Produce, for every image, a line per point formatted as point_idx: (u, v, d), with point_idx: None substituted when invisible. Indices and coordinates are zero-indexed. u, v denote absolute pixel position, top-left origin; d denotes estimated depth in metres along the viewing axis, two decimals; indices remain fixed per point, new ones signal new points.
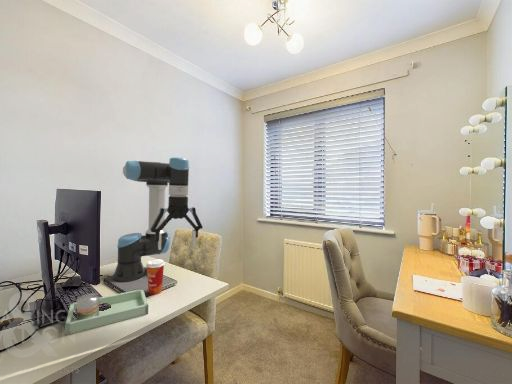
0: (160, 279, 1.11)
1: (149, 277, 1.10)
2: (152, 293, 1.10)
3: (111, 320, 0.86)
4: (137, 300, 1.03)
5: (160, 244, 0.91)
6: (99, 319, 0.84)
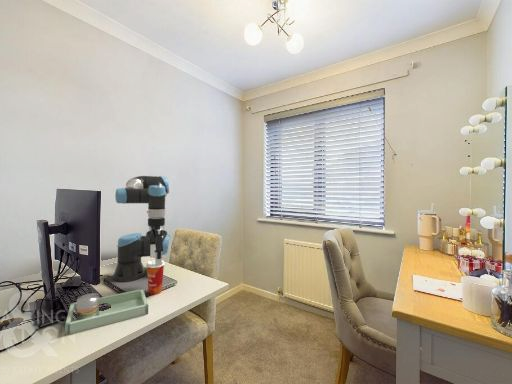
0: (160, 279, 1.11)
1: (149, 277, 1.10)
2: (152, 293, 1.10)
3: (111, 320, 0.86)
4: (137, 300, 1.03)
5: (150, 253, 1.17)
6: (99, 319, 0.84)
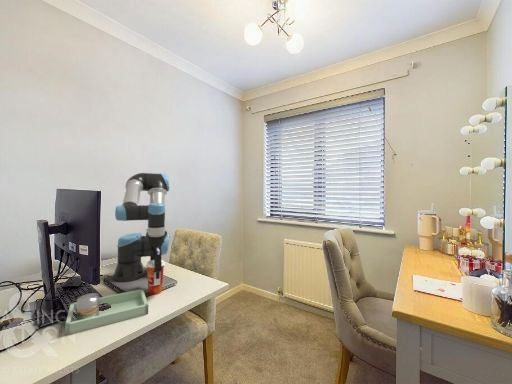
0: (160, 279, 1.11)
1: (149, 277, 1.10)
2: (152, 293, 1.10)
3: (111, 320, 0.86)
4: (137, 300, 1.03)
5: None
6: (99, 319, 0.84)
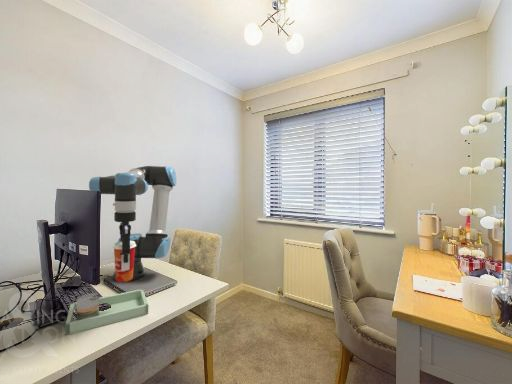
0: (130, 264, 0.93)
1: (116, 261, 0.91)
2: (120, 280, 0.92)
3: (111, 320, 0.86)
4: (137, 300, 1.03)
5: None
6: (99, 319, 0.84)
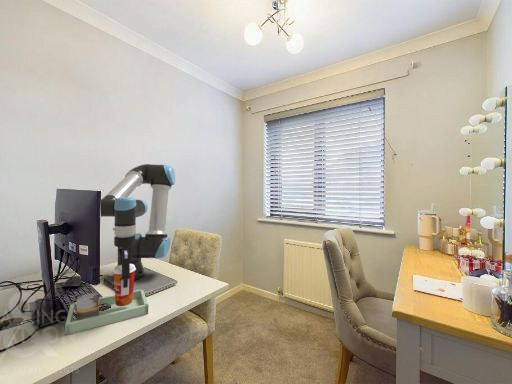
0: (129, 288, 0.93)
1: (116, 285, 0.92)
2: (119, 304, 0.92)
3: (111, 320, 0.86)
4: (137, 300, 1.03)
5: None
6: (99, 319, 0.84)
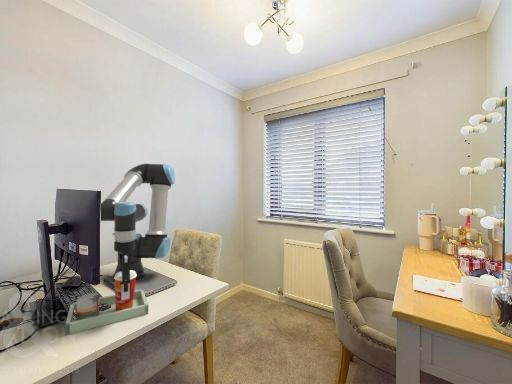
0: (130, 294, 0.94)
1: (116, 292, 0.92)
2: None
3: (111, 320, 0.86)
4: (137, 300, 1.03)
5: None
6: (99, 319, 0.84)
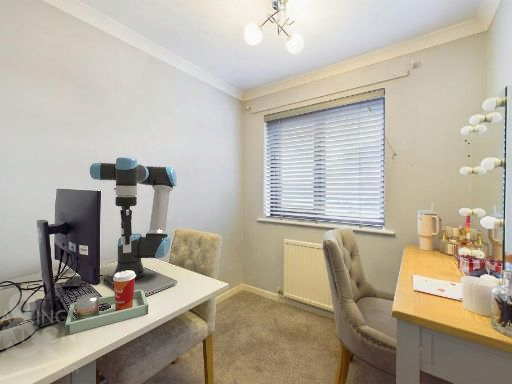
0: (130, 295, 0.94)
1: (116, 293, 0.92)
2: None
3: (111, 320, 0.86)
4: (137, 300, 1.03)
5: (121, 239, 0.99)
6: (99, 319, 0.84)
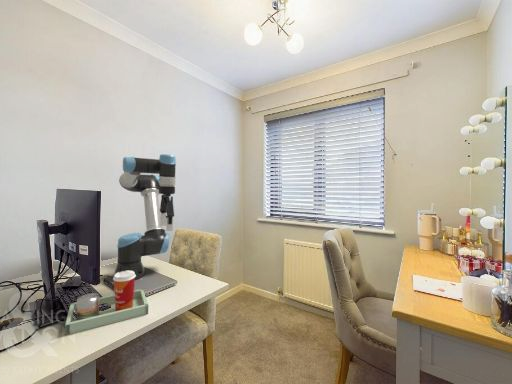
0: (130, 295, 0.94)
1: (116, 293, 0.92)
2: None
3: (111, 320, 0.86)
4: (137, 300, 1.03)
5: (160, 221, 1.21)
6: (99, 319, 0.84)
